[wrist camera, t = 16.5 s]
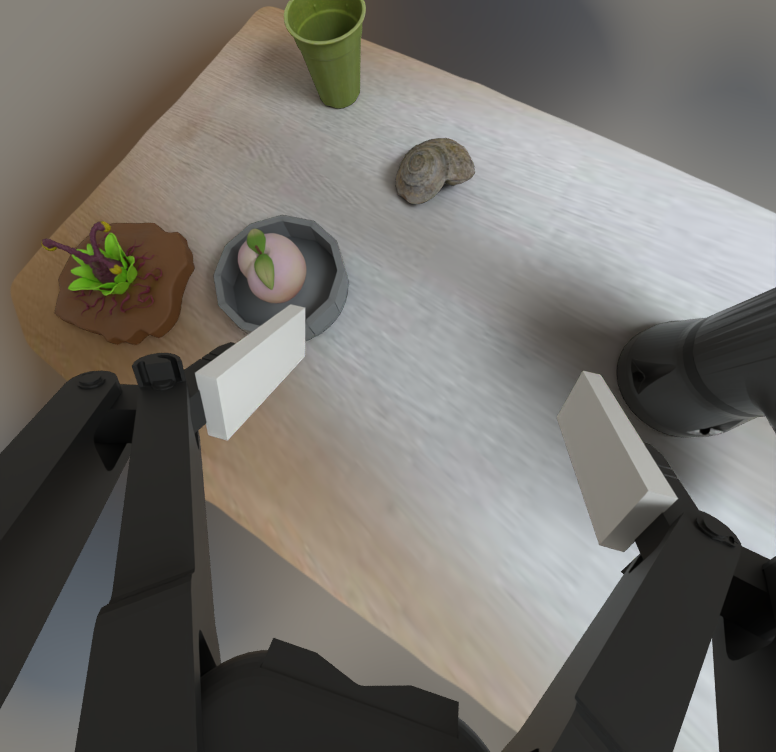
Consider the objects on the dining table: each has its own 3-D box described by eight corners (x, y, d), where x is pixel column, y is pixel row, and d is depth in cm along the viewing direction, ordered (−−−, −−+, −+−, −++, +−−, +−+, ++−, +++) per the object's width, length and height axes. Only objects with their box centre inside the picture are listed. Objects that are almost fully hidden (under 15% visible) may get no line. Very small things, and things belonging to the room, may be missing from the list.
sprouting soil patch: (98, 222, 55) (22, 166, 44) (207, 236, 53) (155, 182, 42) (52, 334, 51) (-44, 302, 40) (168, 353, 49) (100, 326, 38)
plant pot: (293, 97, 58) (266, 15, 47) (340, 57, 60) (326, -31, 49) (338, 132, 56) (322, 55, 45) (387, 90, 57) (382, 5, 46)
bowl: (294, 215, 53) (284, 194, 48) (372, 285, 49) (369, 269, 45) (208, 290, 51) (189, 275, 46) (284, 369, 47) (271, 361, 43)
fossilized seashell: (406, 139, 53) (420, 107, 46) (464, 167, 55) (485, 141, 49) (387, 202, 53) (398, 180, 46) (446, 228, 55) (464, 210, 49)
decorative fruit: (326, 297, 48) (305, 258, 39) (276, 324, 48) (243, 292, 38) (298, 249, 50) (272, 200, 41) (250, 274, 50) (212, 231, 40)
